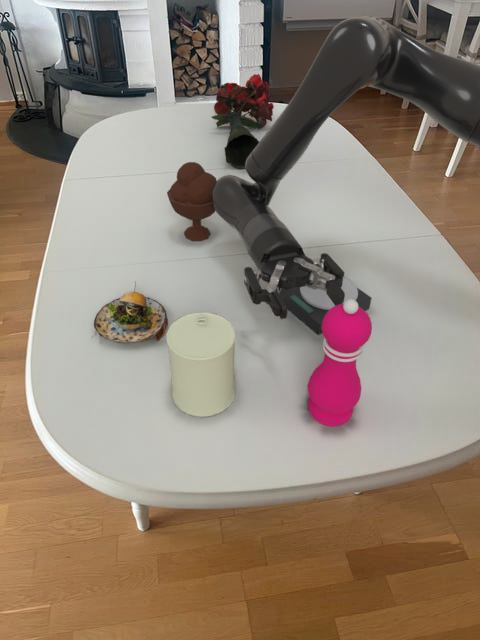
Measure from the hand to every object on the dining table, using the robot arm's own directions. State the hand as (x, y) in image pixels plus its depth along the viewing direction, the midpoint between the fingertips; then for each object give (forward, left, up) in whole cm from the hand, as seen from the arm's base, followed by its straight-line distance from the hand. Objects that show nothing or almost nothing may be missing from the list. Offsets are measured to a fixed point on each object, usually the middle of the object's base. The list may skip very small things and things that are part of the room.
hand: (313, 308), depth 72 cm
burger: (+18, -24, -12) cm, 32 cm away
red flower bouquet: (-42, -75, -12) cm, 87 cm away
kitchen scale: (-12, -10, -12) cm, 20 cm away
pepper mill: (+3, +8, -12) cm, 15 cm away
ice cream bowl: (-6, -42, -12) cm, 44 cm away
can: (+16, -5, -12) cm, 20 cm away
